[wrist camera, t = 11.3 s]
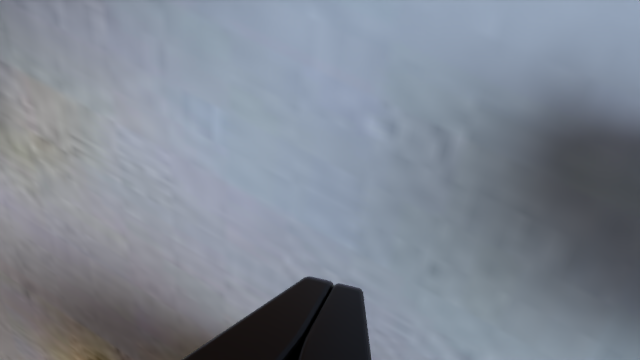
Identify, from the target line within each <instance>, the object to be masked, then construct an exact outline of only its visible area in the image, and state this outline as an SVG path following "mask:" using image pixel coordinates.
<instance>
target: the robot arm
mask: <svg viewBox="0 0 640 360" xmlns="http://www.w3.org/2000/svg"><path fill="white" fill-rule="evenodd" d="M182 360H371V352H370V344H369V336H368V328H367V320H366V312H365V304H364V296H363V292H362V290H361V289H360V288H356V287H352V286H348V285H344V284H339V283H338V284H336V285H333V283H332V282H331V281H327V280H323V279H319V278H315V277H305V278H303V279H302V280H300V281H299V282H297V283H296V284H294V285H293V286H291V287H290V288H288V289H287V290H285V291H284V292H282V293H281V294H279V295H278V296H276V297H275V298H273V299H272V300H270V301H269V302H267V303H266V304H264V305H263V306H261V307H260V308H258V309H257V310H255V311H254V312H252V313H251V314H249V315H248V316H246V317H245V318H243V319H242V320H240V321H239V322H237V323H236V324H234V325H233V326H231V327H230V328H228V329H227V330H226V331H224V332H223V333H221V334H220V335H218V336H217V337H215V338H214V339H212V340H211V341H209V342H208V343H206V344H205V345H203V346H202V347H200V348H199V349H197V350H196V351H194V352H193V353H191V354H190V355H188V356H187V357H185V358H184V359H182Z"/></svg>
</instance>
